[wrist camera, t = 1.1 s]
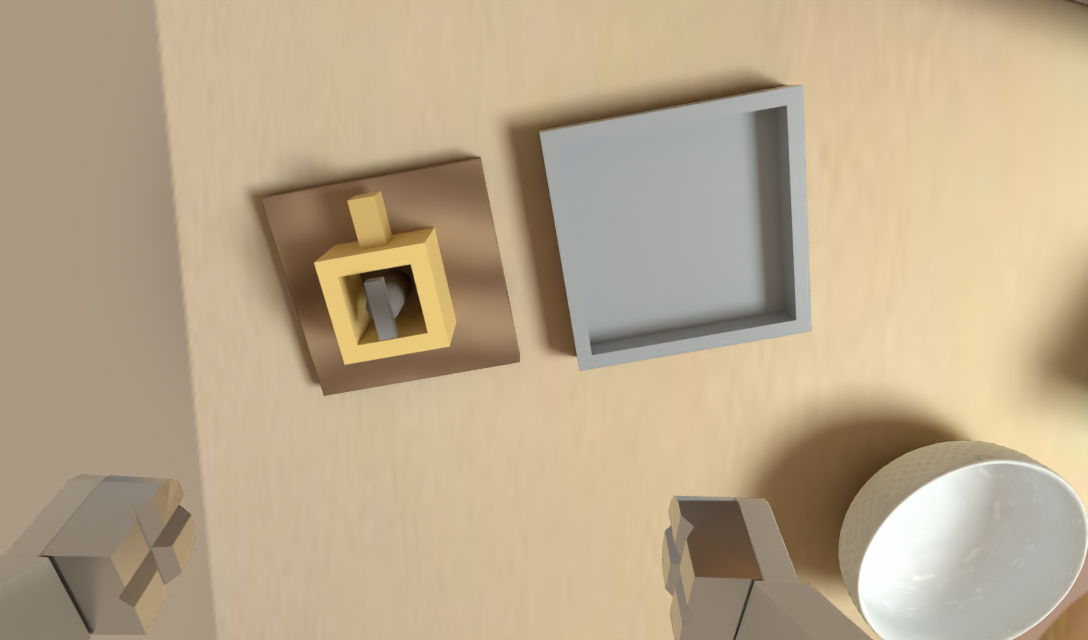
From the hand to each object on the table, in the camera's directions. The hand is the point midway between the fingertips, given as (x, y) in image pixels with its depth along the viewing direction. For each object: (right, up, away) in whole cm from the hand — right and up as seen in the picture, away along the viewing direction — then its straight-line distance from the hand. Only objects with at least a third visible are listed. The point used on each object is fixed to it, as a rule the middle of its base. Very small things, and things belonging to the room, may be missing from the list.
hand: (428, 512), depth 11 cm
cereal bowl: (+32, -12, +42) cm, 54 cm away
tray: (+11, +9, +33) cm, 36 cm away
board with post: (-8, +6, +34) cm, 35 cm away
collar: (-8, +7, +32) cm, 34 cm away
